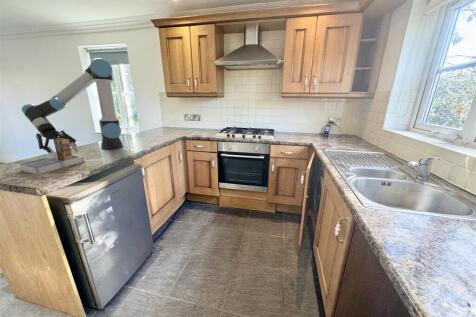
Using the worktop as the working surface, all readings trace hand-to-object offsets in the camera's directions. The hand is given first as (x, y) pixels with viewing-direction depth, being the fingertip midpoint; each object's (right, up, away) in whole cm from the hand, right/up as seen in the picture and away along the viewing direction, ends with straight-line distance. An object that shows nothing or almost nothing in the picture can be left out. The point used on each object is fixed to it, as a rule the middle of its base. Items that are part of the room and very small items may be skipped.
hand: (67, 153), depth 119 cm
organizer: (-5, -7, -3) cm, 9 cm away
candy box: (-3, -6, +3) cm, 7 cm away
